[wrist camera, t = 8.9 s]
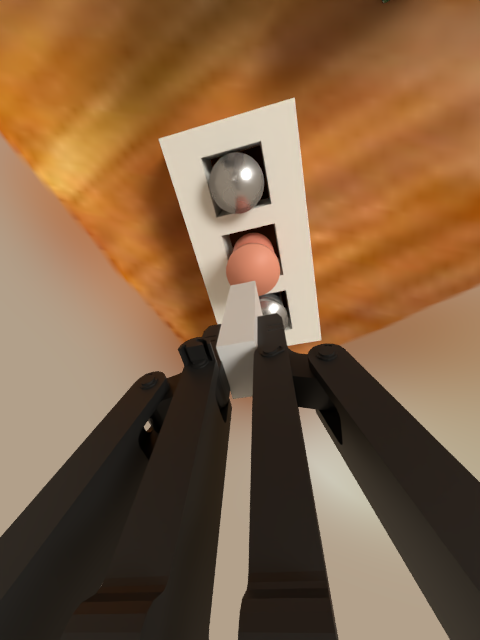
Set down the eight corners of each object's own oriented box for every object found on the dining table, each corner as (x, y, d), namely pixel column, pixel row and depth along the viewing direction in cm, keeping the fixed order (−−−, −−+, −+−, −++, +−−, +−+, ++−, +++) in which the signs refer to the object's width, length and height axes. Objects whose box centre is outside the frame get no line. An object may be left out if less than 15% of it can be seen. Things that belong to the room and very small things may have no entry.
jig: (175, 143, 29) (158, 138, 24) (287, 110, 27) (294, 97, 22) (231, 330, 40) (227, 355, 35) (312, 316, 38) (321, 340, 33)
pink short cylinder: (222, 254, 30) (215, 273, 24) (252, 220, 28) (251, 232, 22) (254, 282, 31) (254, 306, 26) (285, 252, 29) (291, 270, 24)
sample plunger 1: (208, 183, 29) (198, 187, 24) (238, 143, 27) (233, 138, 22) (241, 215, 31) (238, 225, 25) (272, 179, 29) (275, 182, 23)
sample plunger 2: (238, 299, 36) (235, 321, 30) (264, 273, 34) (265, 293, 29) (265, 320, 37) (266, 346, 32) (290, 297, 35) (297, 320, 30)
